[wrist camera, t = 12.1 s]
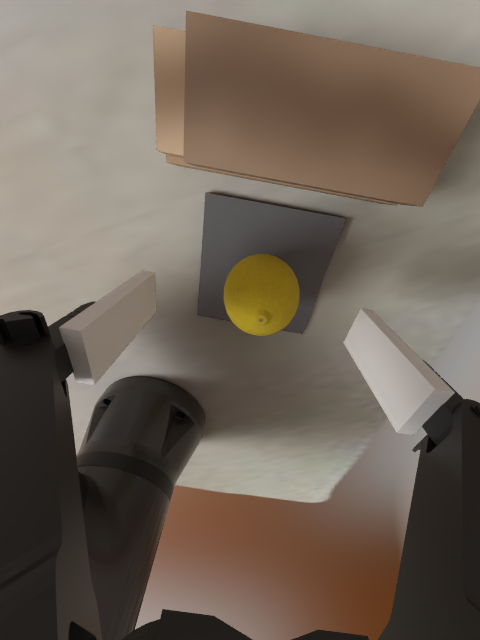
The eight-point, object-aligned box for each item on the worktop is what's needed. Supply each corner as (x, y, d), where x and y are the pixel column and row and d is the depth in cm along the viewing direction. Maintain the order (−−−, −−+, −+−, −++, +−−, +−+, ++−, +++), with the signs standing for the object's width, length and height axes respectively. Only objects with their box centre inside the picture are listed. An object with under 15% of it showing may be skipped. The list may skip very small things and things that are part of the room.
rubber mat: (301, 330, 23) (302, 333, 22) (198, 312, 23) (197, 315, 22) (343, 217, 17) (345, 218, 17) (207, 192, 17) (205, 192, 17)
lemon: (293, 241, 18) (314, 273, 11) (290, 302, 21) (305, 357, 14) (227, 245, 19) (208, 277, 12) (232, 303, 21) (220, 357, 14)
